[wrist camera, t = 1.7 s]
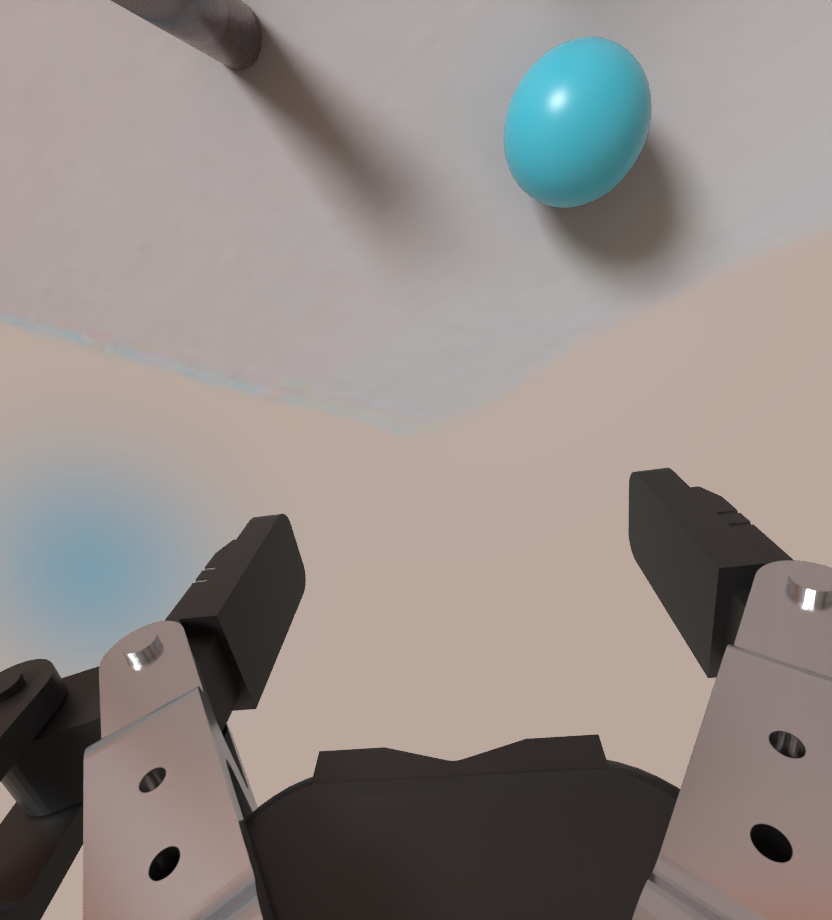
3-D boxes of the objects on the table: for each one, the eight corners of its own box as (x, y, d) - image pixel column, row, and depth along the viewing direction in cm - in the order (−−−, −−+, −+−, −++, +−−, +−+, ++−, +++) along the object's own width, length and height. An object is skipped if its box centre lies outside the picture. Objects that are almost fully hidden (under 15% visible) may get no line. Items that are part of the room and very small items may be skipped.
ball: (565, 24, 21) (596, -34, 16) (654, 124, 23) (710, 101, 17) (474, 150, 24) (476, 135, 19) (560, 233, 25) (584, 241, 20)
